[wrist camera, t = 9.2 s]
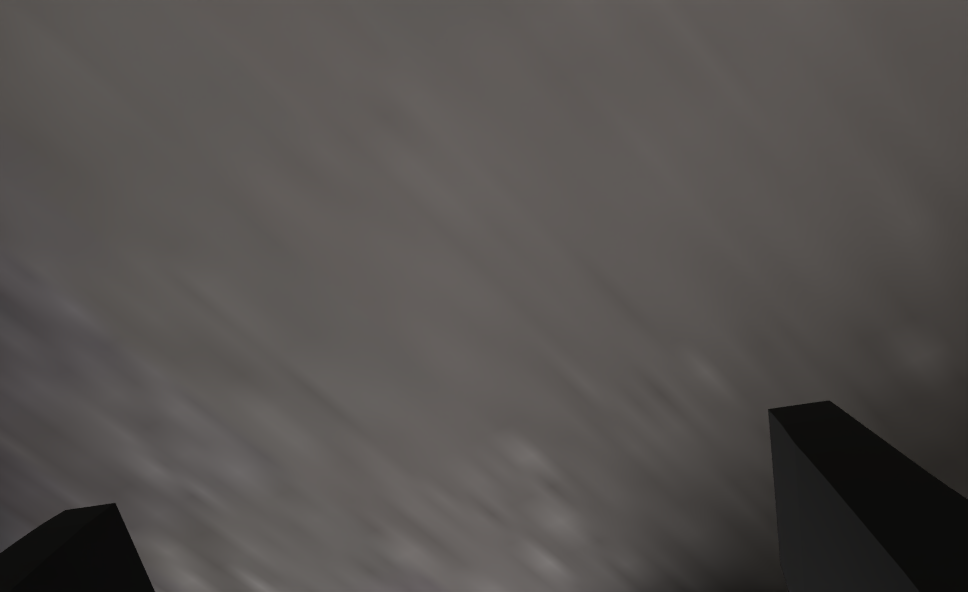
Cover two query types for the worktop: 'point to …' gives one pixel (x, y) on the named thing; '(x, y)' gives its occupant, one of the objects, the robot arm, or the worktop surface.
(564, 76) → the worktop surface
